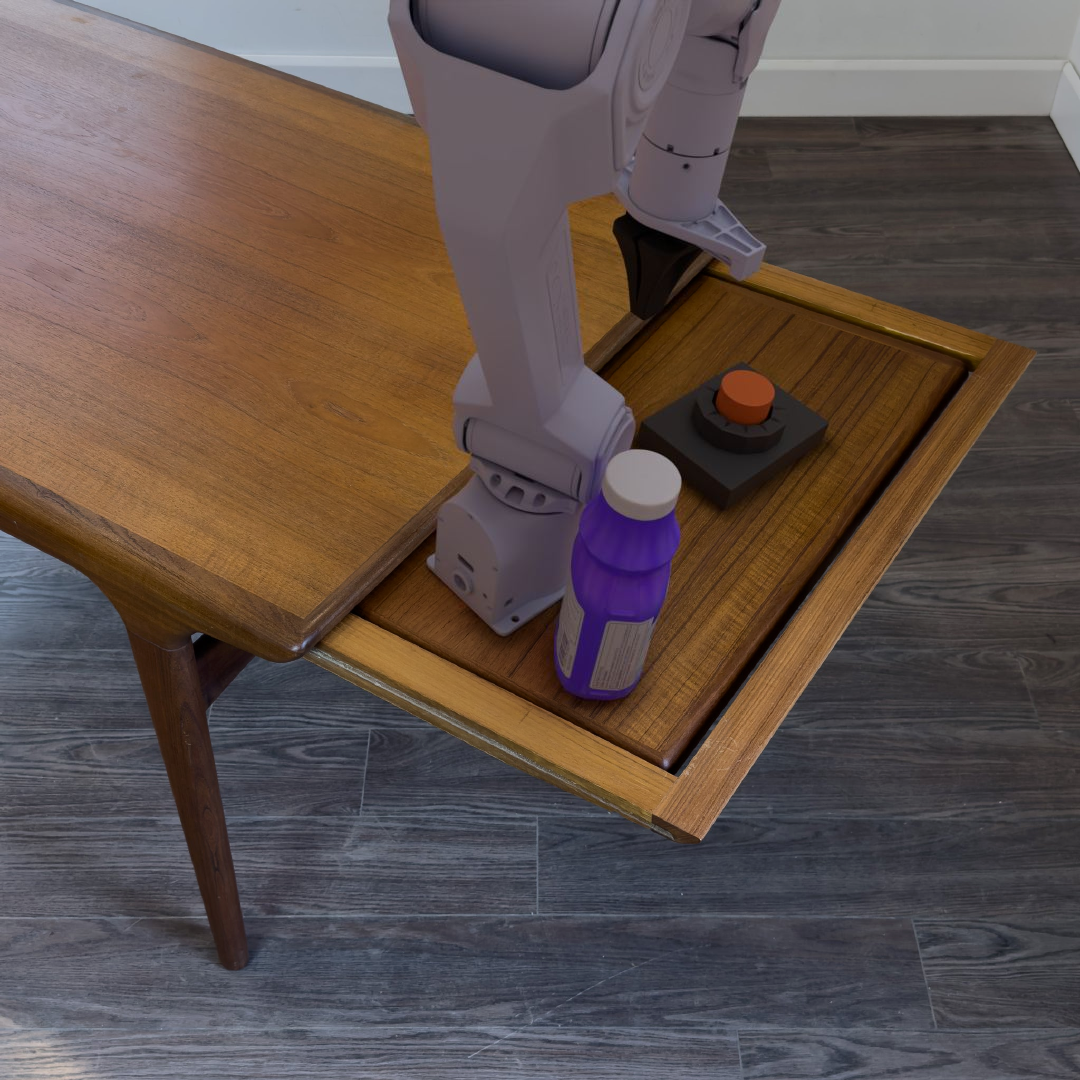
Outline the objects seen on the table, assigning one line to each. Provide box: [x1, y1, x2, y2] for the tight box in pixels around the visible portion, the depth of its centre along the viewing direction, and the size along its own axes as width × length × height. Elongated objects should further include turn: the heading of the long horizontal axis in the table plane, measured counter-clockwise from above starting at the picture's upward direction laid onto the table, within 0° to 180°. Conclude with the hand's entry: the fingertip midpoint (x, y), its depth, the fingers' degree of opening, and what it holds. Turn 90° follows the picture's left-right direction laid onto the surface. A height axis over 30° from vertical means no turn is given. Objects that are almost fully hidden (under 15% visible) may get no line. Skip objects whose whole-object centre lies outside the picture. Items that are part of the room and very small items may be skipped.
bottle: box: [553, 449, 682, 701], centre depth 64 cm, size 7×6×17 cm
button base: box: [636, 360, 830, 511], centre depth 84 cm, size 12×9×4 cm
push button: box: [716, 370, 775, 426], centre depth 82 cm, size 4×4×2 cm
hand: (646, 311), depth 78 cm, fingers closed
